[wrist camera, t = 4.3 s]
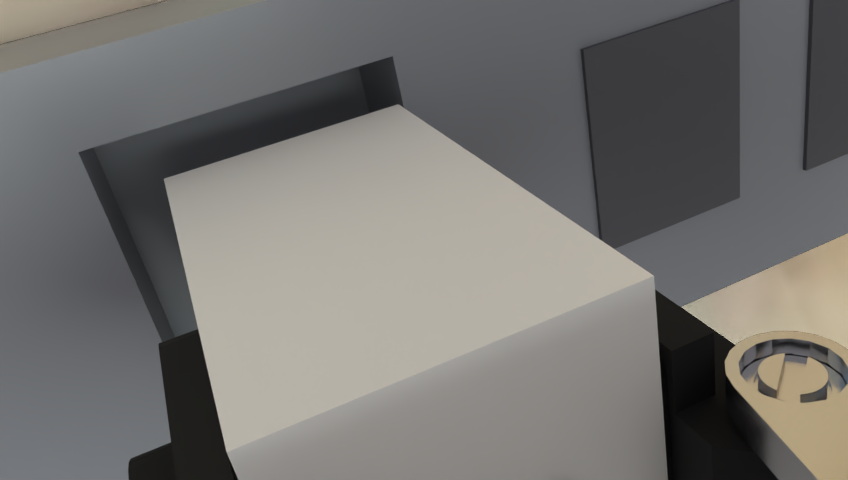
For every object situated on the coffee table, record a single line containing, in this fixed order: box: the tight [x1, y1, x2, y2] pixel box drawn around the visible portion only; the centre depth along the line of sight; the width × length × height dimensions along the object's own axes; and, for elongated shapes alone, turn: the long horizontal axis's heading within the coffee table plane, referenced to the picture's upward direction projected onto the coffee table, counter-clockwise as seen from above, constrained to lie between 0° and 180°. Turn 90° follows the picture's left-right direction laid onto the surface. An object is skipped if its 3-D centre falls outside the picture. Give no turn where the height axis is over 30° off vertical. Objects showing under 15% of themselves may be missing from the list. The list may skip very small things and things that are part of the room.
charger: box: [164, 104, 668, 480], centre depth 11 cm, size 4×5×7 cm
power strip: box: [0, 0, 848, 480], centre depth 16 cm, size 26×9×4 cm, turn 102°
